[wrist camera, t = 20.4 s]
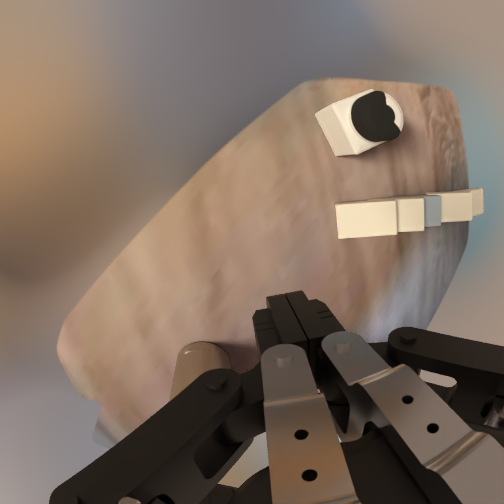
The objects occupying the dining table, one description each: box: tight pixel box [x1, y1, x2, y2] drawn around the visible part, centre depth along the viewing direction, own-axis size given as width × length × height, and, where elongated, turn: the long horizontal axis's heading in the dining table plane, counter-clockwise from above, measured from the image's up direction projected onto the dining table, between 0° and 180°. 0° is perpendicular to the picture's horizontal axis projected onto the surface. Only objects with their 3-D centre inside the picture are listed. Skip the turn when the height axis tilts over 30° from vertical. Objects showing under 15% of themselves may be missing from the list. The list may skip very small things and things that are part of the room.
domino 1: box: [335, 199, 397, 239], centre depth 39 cm, size 5×2×9 cm
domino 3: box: [390, 195, 441, 227], centre depth 40 cm, size 5×2×9 cm
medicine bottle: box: [315, 89, 403, 157], centre depth 32 cm, size 7×7×12 cm
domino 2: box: [367, 197, 424, 232], centre depth 39 cm, size 5×2×9 cm
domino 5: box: [452, 188, 483, 216], centre depth 41 cm, size 5×2×9 cm
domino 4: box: [426, 191, 472, 222], centre depth 40 cm, size 5×2×9 cm
